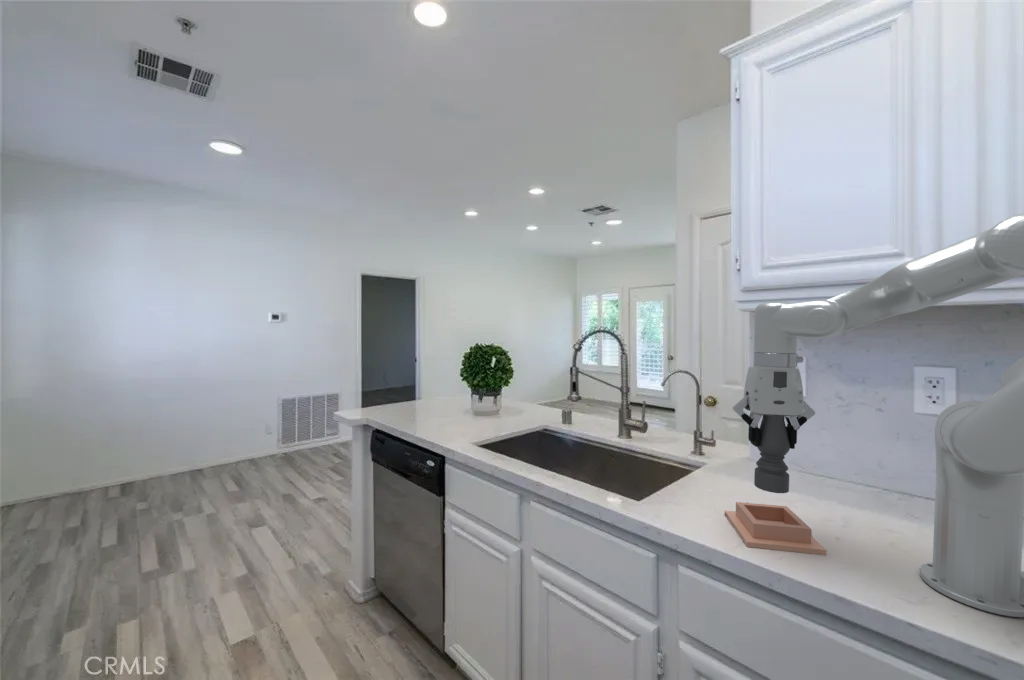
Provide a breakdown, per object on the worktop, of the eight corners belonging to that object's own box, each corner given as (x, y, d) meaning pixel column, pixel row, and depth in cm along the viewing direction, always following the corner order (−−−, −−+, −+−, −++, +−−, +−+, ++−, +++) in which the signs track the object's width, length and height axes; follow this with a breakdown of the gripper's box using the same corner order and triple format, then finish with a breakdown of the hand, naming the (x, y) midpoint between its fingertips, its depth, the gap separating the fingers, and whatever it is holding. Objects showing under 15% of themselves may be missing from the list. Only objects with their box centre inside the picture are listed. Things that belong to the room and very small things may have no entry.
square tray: (791, 520, 91) (791, 503, 90) (826, 555, 77) (827, 534, 77) (724, 514, 93) (724, 498, 93) (746, 546, 80) (747, 527, 80)
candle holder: (794, 494, 81) (798, 372, 80) (761, 491, 82) (764, 371, 82) (780, 483, 87) (784, 369, 87) (749, 480, 89) (752, 368, 88)
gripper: (811, 360, 86) (808, 443, 87) (724, 359, 89) (722, 438, 90) (831, 364, 79) (828, 454, 79) (735, 361, 82) (733, 448, 83)
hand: (771, 445), depth 85 cm, fingers closed on candle holder, 5 cm apart
